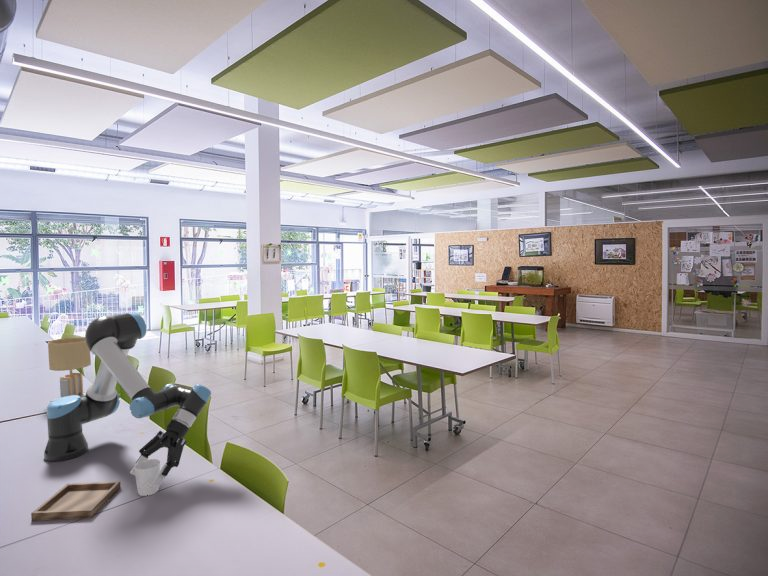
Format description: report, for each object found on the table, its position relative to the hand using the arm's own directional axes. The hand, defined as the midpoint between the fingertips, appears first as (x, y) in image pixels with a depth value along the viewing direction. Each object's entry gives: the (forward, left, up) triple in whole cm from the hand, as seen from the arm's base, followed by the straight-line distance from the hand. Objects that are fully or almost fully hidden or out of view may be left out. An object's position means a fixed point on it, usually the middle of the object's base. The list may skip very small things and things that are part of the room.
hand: (143, 479), depth 153 cm
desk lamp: (-87, +107, -5) cm, 138 cm away
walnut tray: (-19, -5, -5) cm, 20 cm away
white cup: (+1, +1, -5) cm, 6 cm away
